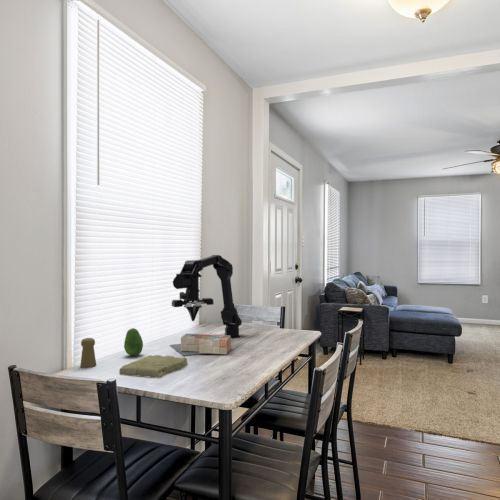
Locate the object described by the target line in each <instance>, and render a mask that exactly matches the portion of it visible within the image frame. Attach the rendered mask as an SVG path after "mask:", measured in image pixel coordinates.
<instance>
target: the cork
mask: <svg viewBox="0 0 500 500" xmlns="http://www.w3.org/2000/svg"><path fill="white" fill-rule="evenodd" d="M95 344H96V341H95V339H94V338H93V337H86V338H83V339H81V342H80V346H81V347H82V349H81V357H80V365H79V367H80V368H81V369H90V368H95V367H97V361H96V360H97V359H96V354H95V347H94V346H95Z"/></svg>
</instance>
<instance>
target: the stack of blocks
mask: <svg viewBox="0 0 500 500" xmlns="http://www.w3.org/2000/svg"><path fill="white" fill-rule="evenodd" d="M231 339H232V338H231V336H230V335H225V334H199V333H185V334H183V335H182V336H181V337H180V344H181V351H193V352H199V353H207V354H213V355H227V354H228V353H229V352H230V350H231V348H232V347H231V346H232V345H231V344H232V343H231V341H232V340H231Z"/></svg>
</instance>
